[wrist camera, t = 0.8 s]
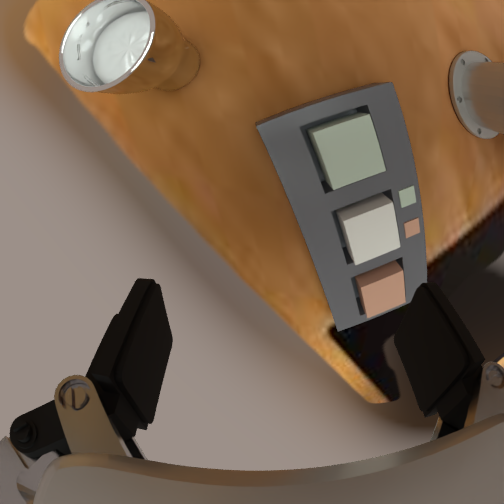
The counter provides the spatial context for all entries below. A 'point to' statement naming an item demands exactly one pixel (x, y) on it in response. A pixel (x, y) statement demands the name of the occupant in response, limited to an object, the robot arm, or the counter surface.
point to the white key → (369, 227)
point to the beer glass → (126, 49)
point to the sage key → (347, 149)
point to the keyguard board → (349, 193)
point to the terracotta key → (381, 288)
